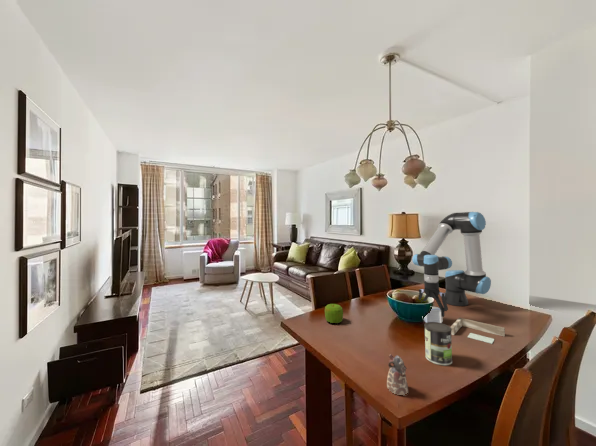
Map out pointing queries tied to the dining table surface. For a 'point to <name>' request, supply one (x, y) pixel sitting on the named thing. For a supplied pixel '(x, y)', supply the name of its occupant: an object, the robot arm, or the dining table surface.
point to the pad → (481, 338)
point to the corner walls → (477, 327)
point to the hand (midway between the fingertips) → (432, 319)
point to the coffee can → (438, 343)
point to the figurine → (397, 376)
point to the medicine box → (433, 315)
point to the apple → (333, 313)
